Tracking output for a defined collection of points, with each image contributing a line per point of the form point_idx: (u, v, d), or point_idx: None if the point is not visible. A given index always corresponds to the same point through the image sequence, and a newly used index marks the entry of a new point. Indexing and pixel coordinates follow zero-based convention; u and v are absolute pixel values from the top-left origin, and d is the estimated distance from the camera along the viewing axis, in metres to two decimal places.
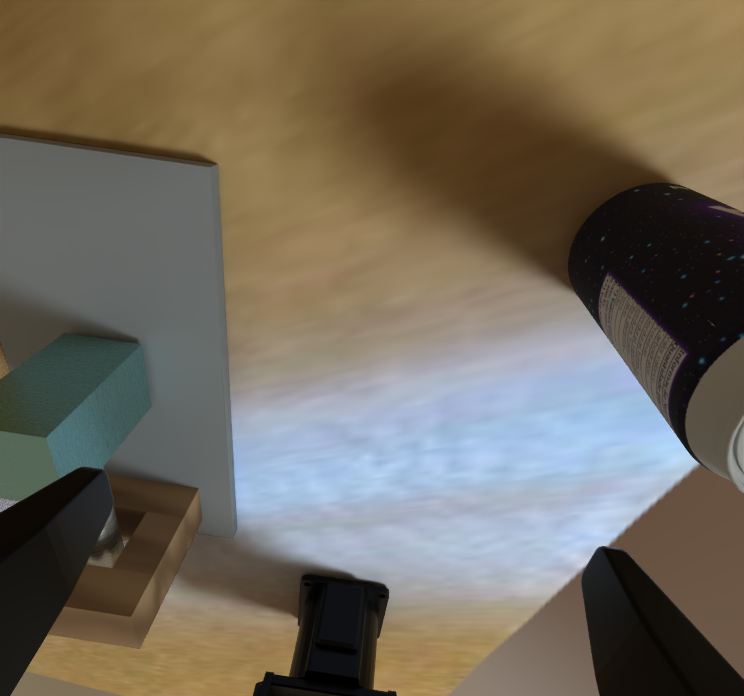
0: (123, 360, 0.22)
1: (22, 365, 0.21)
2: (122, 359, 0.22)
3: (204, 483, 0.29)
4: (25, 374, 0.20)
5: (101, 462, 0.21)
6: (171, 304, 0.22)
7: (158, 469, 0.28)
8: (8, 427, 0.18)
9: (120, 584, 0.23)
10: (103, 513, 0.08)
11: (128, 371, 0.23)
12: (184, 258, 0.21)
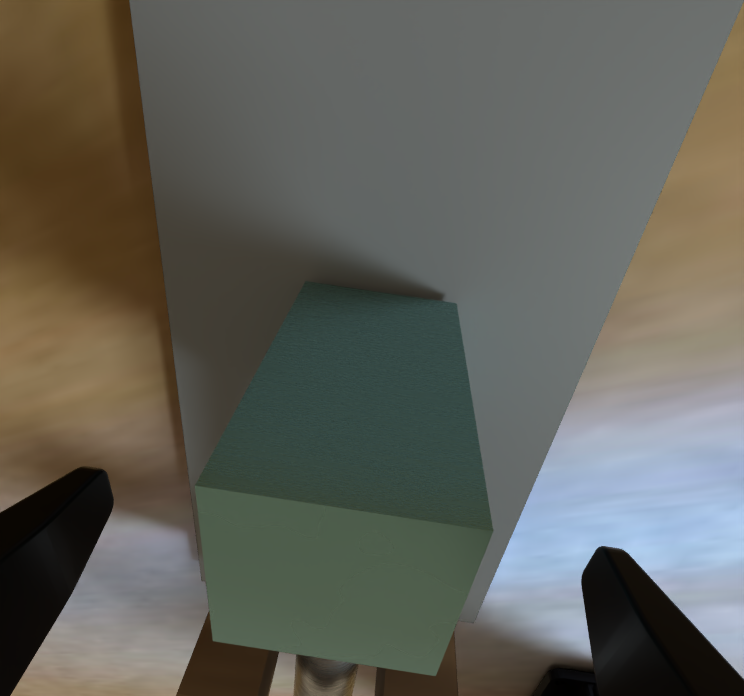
0: (458, 331, 0.11)
1: (280, 338, 0.10)
2: (455, 329, 0.11)
3: None
4: (300, 356, 0.09)
5: None
6: (545, 219, 0.11)
7: None
8: (373, 500, 0.06)
9: None
10: (103, 513, 0.08)
11: None
12: (622, 109, 0.10)
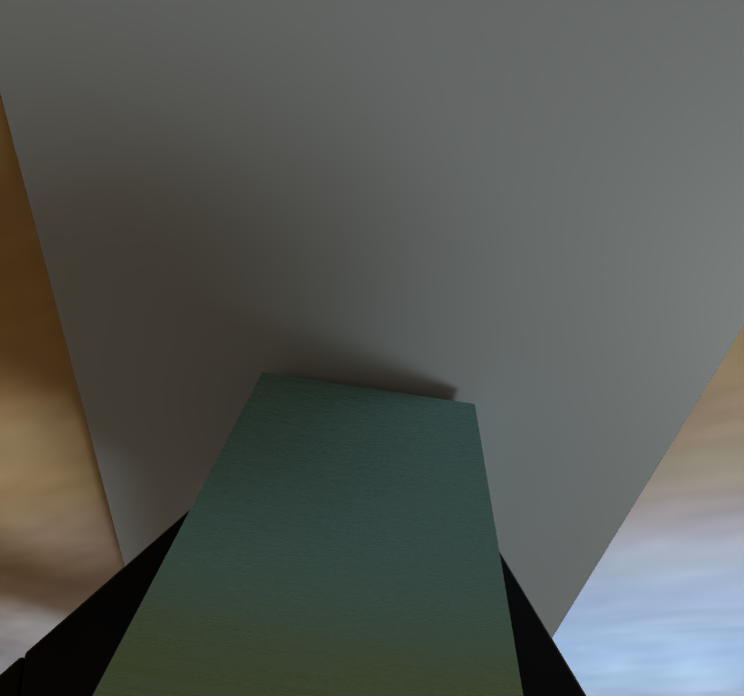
0: (481, 463, 0.07)
1: (203, 502, 0.06)
2: (476, 460, 0.07)
3: None
4: (229, 544, 0.06)
5: None
6: (606, 294, 0.08)
7: None
8: None
9: None
10: None
11: None
12: (739, 138, 0.06)
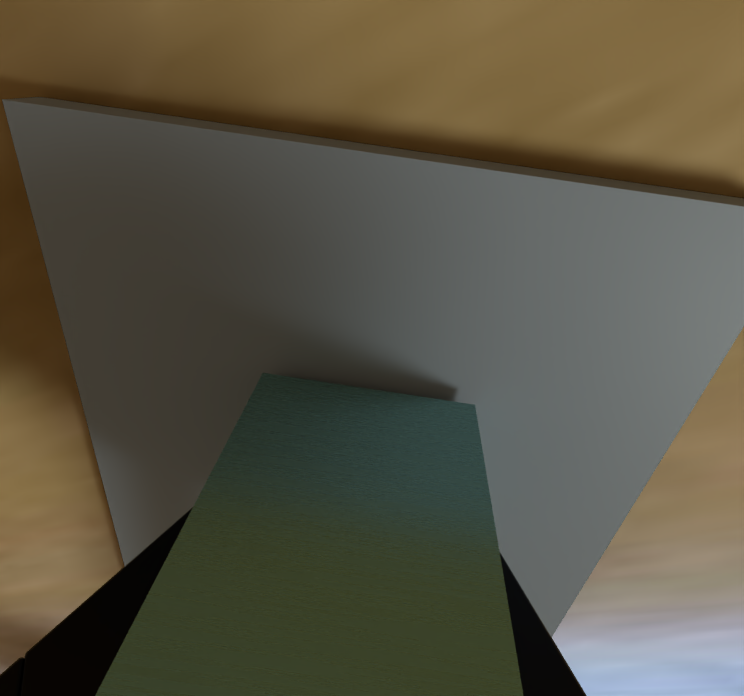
0: (481, 464, 0.07)
1: (204, 503, 0.06)
2: (476, 461, 0.07)
3: None
4: (230, 547, 0.06)
5: None
6: (520, 500, 0.10)
7: None
8: None
9: None
10: None
11: None
12: (601, 419, 0.09)
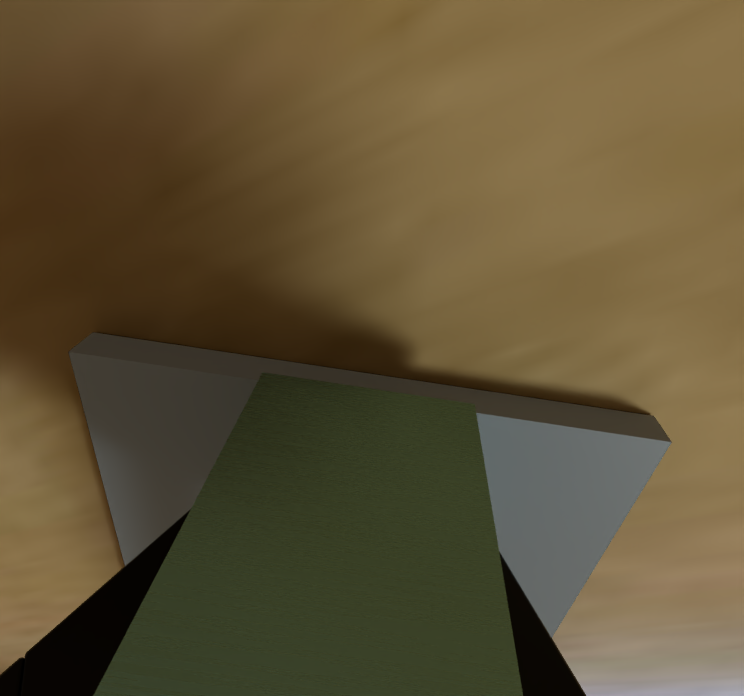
0: (480, 463, 0.07)
1: (203, 502, 0.06)
2: (475, 460, 0.07)
3: None
4: (229, 545, 0.06)
5: None
6: None
7: None
8: None
9: None
10: None
11: None
12: (532, 560, 0.11)
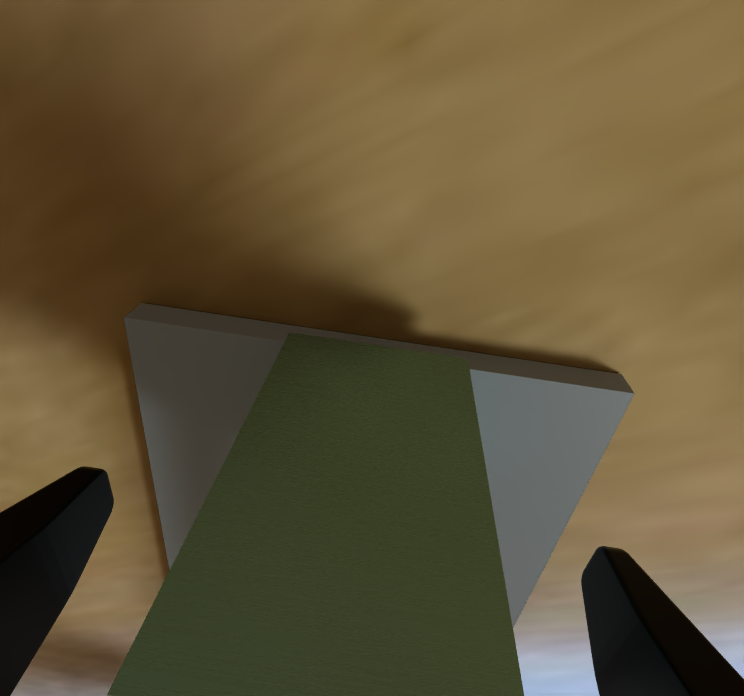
0: (472, 400, 0.09)
1: (252, 420, 0.08)
2: (467, 398, 0.09)
3: None
4: (275, 448, 0.07)
5: None
6: None
7: None
8: None
9: None
10: (103, 513, 0.08)
11: None
12: (519, 504, 0.13)
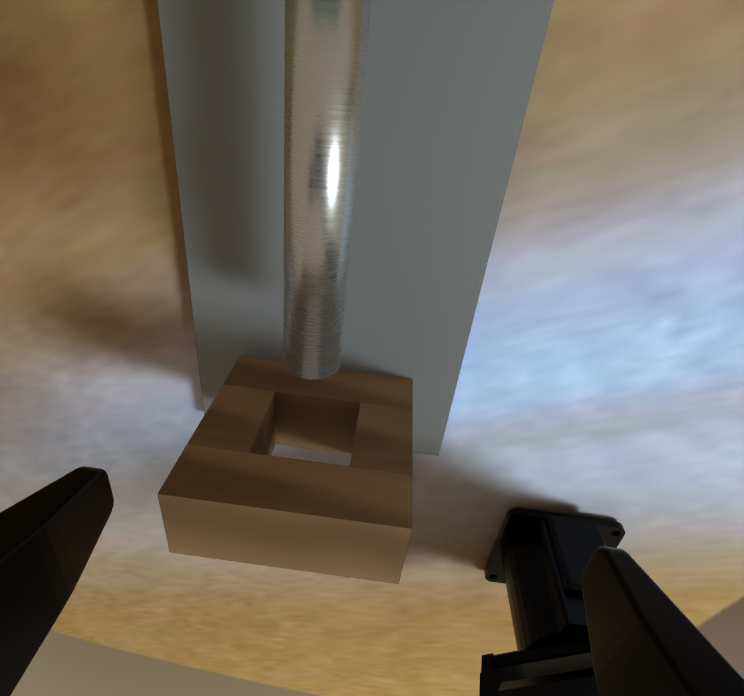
0: None
1: None
2: None
3: (423, 370, 0.21)
4: None
5: None
6: (465, 42, 0.14)
7: (362, 350, 0.21)
8: None
9: (373, 487, 0.16)
10: (103, 513, 0.08)
11: None
12: None
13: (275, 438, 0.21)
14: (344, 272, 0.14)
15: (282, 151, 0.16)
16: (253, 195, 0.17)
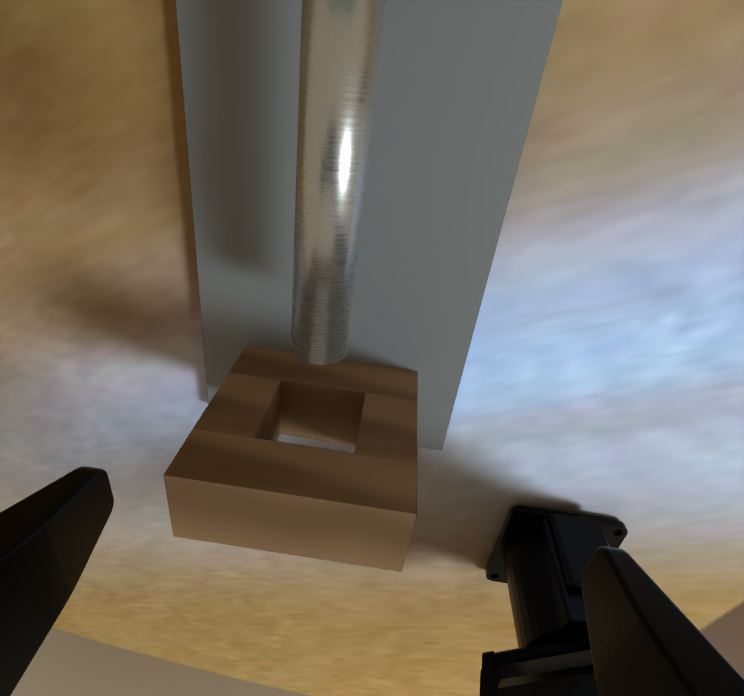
0: None
1: None
2: None
3: (428, 363, 0.21)
4: None
5: None
6: (476, 34, 0.15)
7: (367, 342, 0.21)
8: None
9: (378, 473, 0.16)
10: (103, 513, 0.08)
11: None
12: None
13: (279, 428, 0.21)
14: (353, 256, 0.14)
15: (293, 140, 0.17)
16: (263, 183, 0.17)
